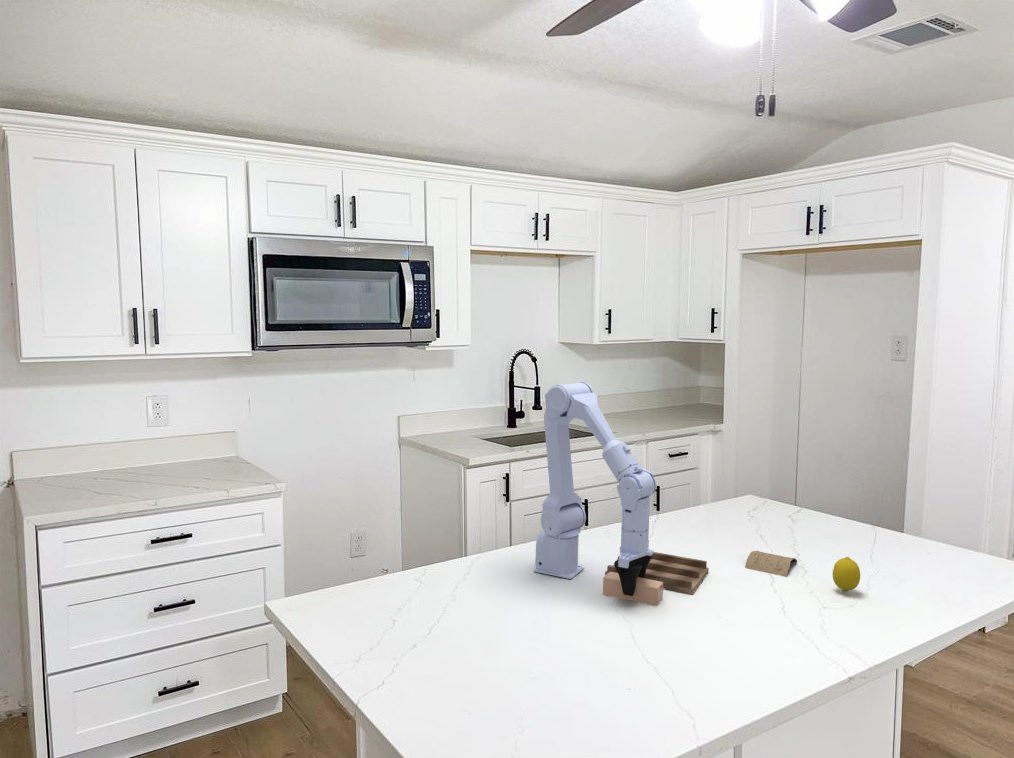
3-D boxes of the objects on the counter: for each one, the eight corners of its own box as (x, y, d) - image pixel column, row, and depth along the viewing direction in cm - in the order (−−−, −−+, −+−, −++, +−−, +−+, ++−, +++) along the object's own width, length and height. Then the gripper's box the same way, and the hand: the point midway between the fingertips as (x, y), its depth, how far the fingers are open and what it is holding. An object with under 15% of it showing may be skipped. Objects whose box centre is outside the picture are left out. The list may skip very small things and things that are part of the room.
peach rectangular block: (602, 595, 161) (603, 577, 161) (609, 589, 165) (609, 571, 164) (657, 607, 156) (657, 588, 155) (662, 600, 159) (663, 582, 159)
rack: (604, 577, 171) (605, 565, 170) (626, 557, 184) (626, 547, 184) (692, 594, 162) (693, 582, 161) (708, 572, 175) (708, 561, 175)
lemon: (830, 594, 163) (832, 558, 163) (832, 585, 168) (834, 551, 167) (858, 599, 161) (860, 563, 160) (859, 590, 166) (862, 555, 165)
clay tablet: (786, 580, 173) (787, 569, 172) (742, 571, 178) (742, 560, 177) (798, 562, 185) (799, 551, 185) (756, 554, 190) (756, 544, 190)
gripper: (642, 540, 150) (640, 605, 152) (663, 522, 163) (660, 582, 164) (609, 535, 153) (607, 598, 155) (632, 517, 166) (629, 576, 168)
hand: (632, 590), depth 160 cm, fingers open, 5 cm apart
